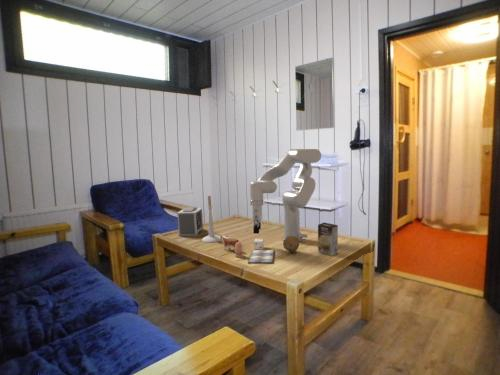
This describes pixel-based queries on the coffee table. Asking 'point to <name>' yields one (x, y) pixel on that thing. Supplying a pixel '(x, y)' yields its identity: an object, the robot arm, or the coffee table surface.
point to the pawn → (238, 250)
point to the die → (258, 244)
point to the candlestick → (211, 227)
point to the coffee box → (328, 238)
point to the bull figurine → (229, 241)
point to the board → (261, 256)
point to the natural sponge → (291, 243)
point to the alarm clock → (190, 221)
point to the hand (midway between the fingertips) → (257, 231)
